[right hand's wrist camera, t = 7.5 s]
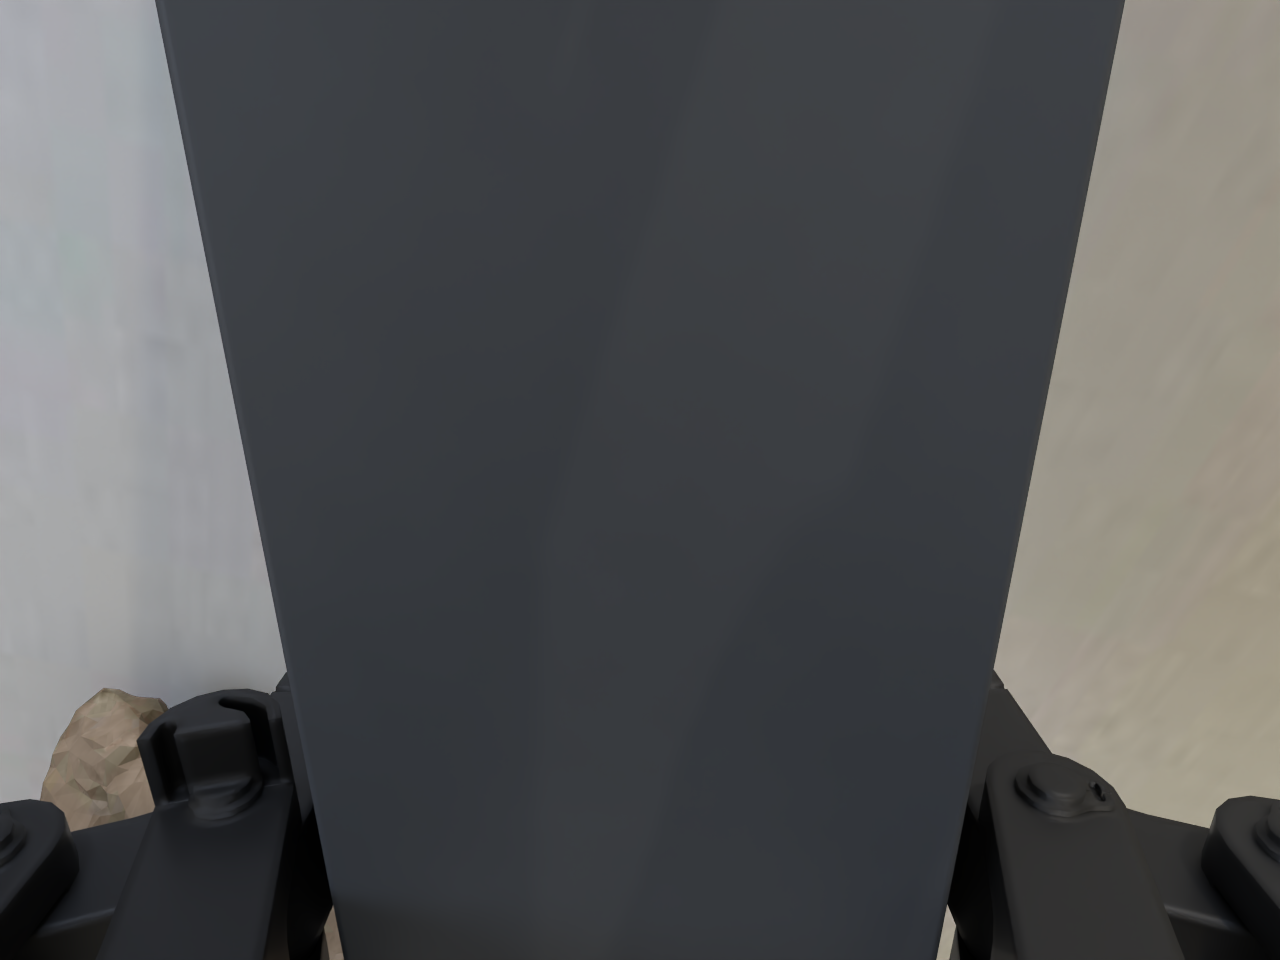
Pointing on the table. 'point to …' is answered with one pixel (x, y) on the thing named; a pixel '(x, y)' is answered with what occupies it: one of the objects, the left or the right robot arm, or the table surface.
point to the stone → (114, 770)
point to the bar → (640, 441)
